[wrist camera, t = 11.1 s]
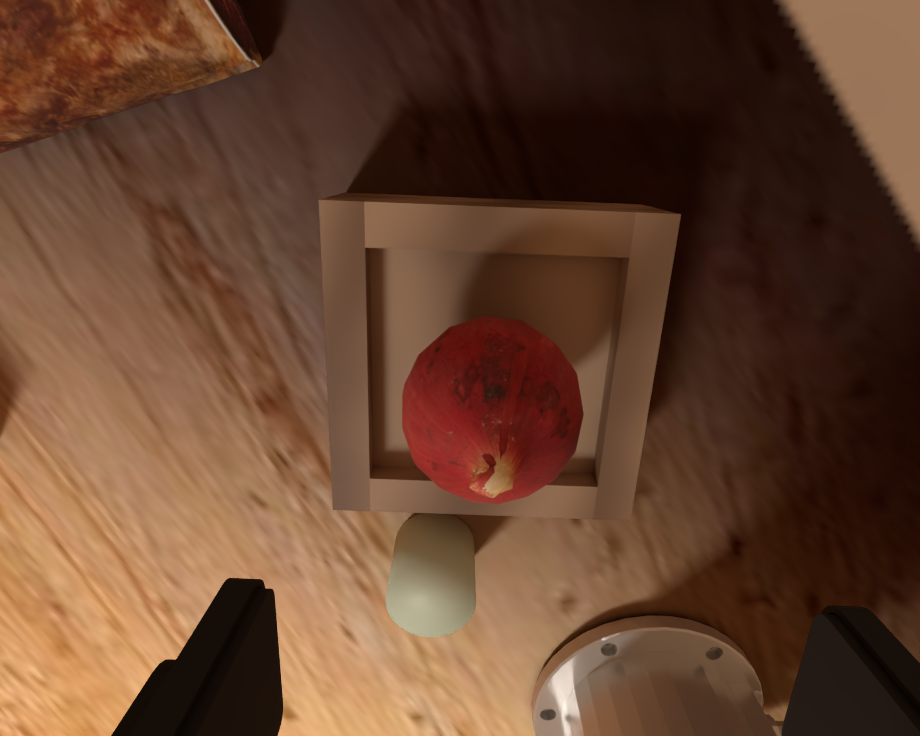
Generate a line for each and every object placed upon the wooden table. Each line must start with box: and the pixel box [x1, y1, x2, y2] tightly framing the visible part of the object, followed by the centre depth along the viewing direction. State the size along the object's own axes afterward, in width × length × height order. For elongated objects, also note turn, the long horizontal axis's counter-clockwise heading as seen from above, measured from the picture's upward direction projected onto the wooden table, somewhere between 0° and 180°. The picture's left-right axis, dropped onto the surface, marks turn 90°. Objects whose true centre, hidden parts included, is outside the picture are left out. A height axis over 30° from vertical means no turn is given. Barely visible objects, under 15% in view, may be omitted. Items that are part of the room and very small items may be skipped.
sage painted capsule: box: [386, 513, 476, 637], centre depth 27 cm, size 4×4×4 cm
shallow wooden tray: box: [319, 193, 681, 520], centre depth 23 cm, size 12×12×4 cm
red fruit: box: [402, 316, 584, 504], centre depth 18 cm, size 6×6×8 cm
